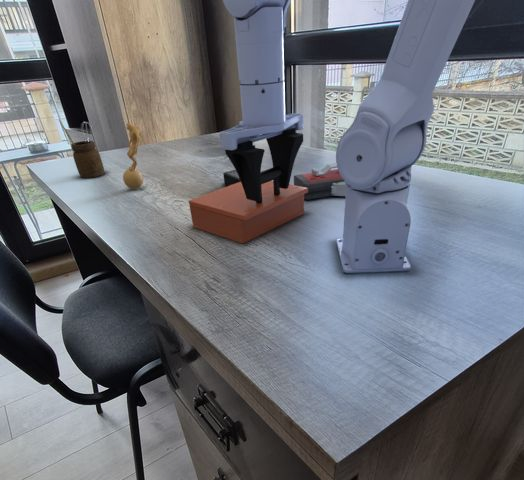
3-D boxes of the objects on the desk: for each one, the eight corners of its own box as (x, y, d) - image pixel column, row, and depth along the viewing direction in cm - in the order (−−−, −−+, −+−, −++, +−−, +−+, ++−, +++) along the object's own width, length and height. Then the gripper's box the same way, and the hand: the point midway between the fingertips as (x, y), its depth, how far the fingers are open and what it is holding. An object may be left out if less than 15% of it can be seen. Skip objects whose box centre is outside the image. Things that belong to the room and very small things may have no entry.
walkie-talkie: (302, 205, 67) (406, 189, 70) (302, 179, 64) (410, 162, 67) (286, 191, 73) (382, 176, 77) (286, 166, 70) (385, 152, 74)
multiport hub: (242, 179, 82) (241, 168, 80) (270, 191, 74) (269, 178, 73) (223, 184, 80) (222, 172, 78) (250, 196, 72) (249, 183, 71)
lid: (308, 192, 61) (308, 160, 58) (244, 220, 53) (240, 185, 50) (252, 181, 68) (250, 152, 65) (189, 205, 60) (183, 173, 57)
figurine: (123, 185, 84) (105, 122, 76) (150, 180, 86) (136, 118, 78) (129, 195, 78) (110, 128, 70) (158, 190, 80) (143, 123, 72)
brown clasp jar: (107, 175, 92) (89, 117, 84) (79, 180, 90) (59, 121, 83) (103, 170, 96) (87, 114, 89) (77, 174, 94) (58, 118, 87)
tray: (304, 213, 64) (304, 191, 61) (242, 243, 56) (240, 220, 54) (254, 201, 70) (252, 181, 68) (193, 227, 62) (189, 205, 60)
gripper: (275, 76, 55) (279, 177, 63) (197, 89, 47) (213, 202, 55) (315, 76, 51) (314, 183, 59) (237, 90, 43) (248, 211, 52)
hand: (268, 193), depth 57 cm, fingers open, 6 cm apart
